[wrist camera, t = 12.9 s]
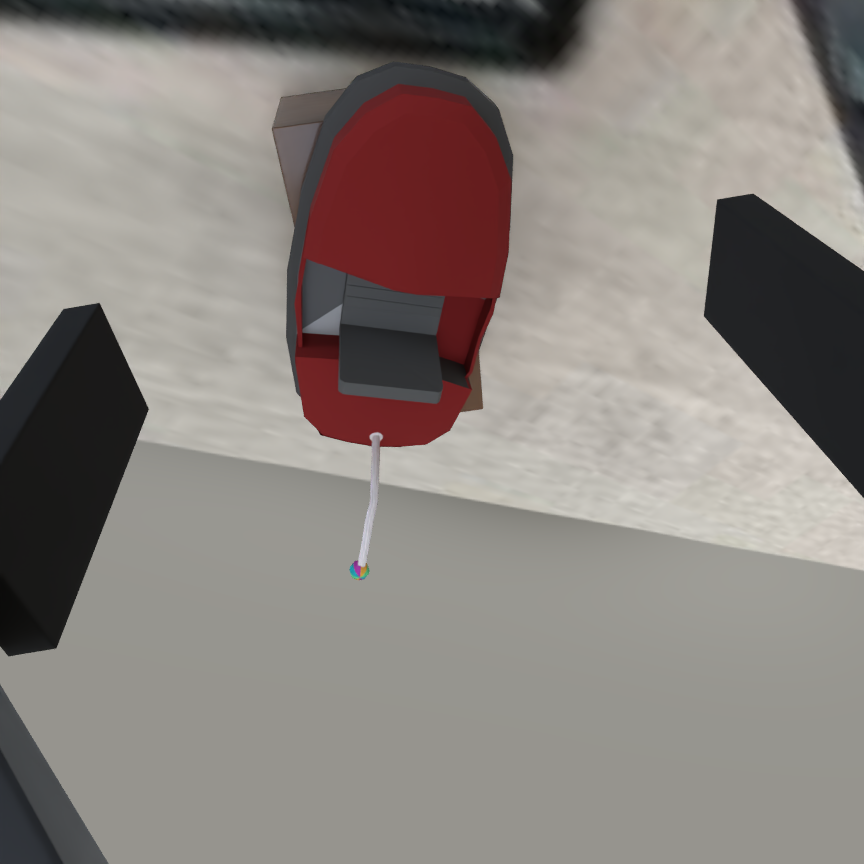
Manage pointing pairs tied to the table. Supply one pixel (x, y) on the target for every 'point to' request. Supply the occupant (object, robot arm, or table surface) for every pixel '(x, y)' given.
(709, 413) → the table surface
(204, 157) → the table surface
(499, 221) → the bumper car
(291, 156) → the walnut block
